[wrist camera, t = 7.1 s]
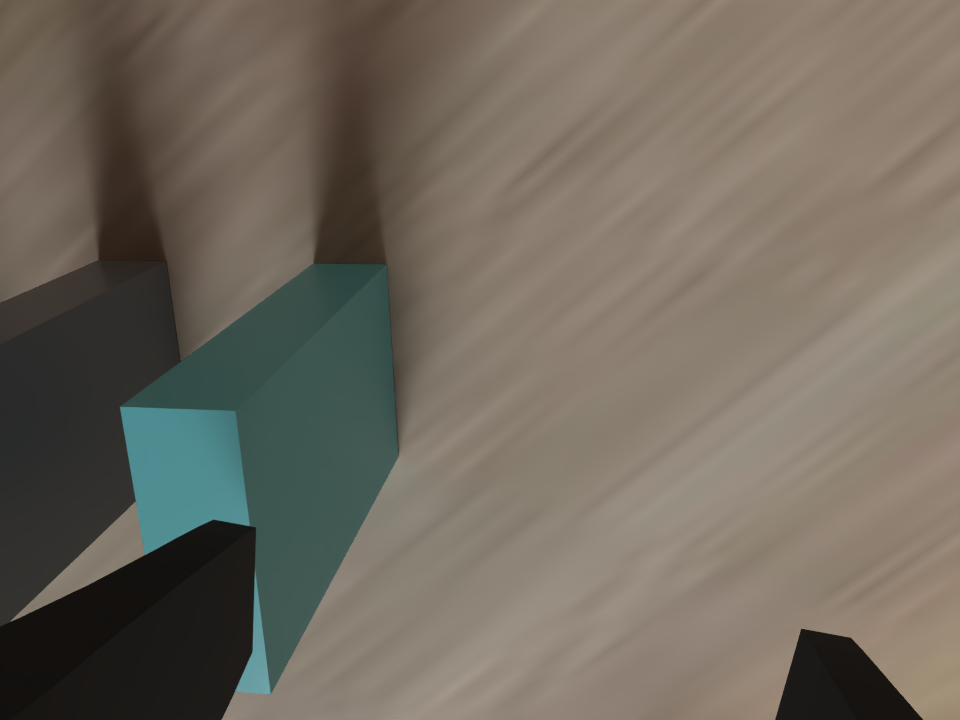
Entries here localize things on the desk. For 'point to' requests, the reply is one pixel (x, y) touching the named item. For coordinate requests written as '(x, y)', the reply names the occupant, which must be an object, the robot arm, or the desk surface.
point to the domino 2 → (275, 442)
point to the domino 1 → (72, 412)
